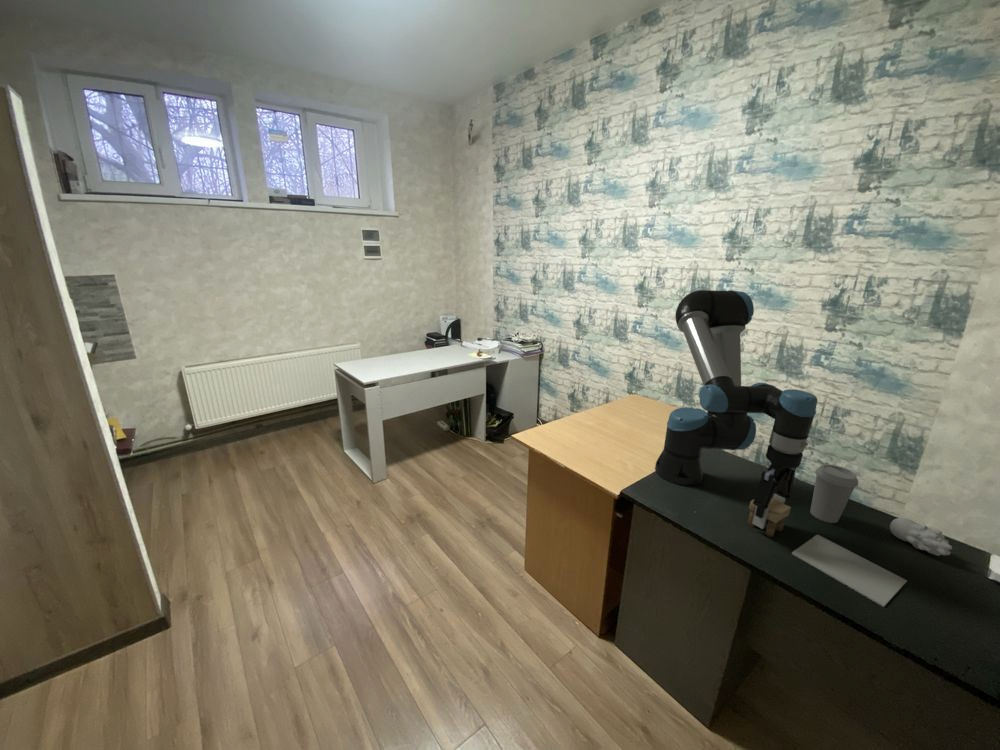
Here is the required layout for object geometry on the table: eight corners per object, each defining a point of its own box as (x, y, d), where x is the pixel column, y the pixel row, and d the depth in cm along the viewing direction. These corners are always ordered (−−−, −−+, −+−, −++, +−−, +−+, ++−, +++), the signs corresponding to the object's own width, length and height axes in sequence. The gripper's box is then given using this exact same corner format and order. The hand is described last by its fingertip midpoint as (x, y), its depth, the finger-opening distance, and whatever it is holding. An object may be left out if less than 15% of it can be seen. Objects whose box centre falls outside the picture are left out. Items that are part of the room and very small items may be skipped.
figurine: (901, 520, 109) (963, 546, 98) (888, 538, 109) (948, 567, 98) (895, 508, 106) (958, 534, 95) (881, 528, 106) (942, 556, 95)
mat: (791, 553, 99) (791, 552, 99) (816, 535, 106) (817, 534, 106) (883, 607, 85) (884, 605, 84) (906, 581, 91) (907, 580, 91)
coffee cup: (853, 528, 109) (869, 482, 105) (814, 523, 111) (829, 478, 106) (832, 508, 118) (846, 464, 114) (797, 503, 120) (810, 460, 115)
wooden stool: (745, 523, 110) (750, 501, 108) (758, 515, 114) (764, 493, 112) (771, 538, 105) (777, 515, 102) (784, 530, 108) (791, 507, 106)
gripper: (781, 464, 94) (760, 541, 101) (820, 445, 104) (799, 516, 111) (749, 451, 100) (731, 524, 107) (789, 434, 110) (771, 502, 117)
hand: (766, 520), depth 109 cm, fingers open, 8 cm apart
